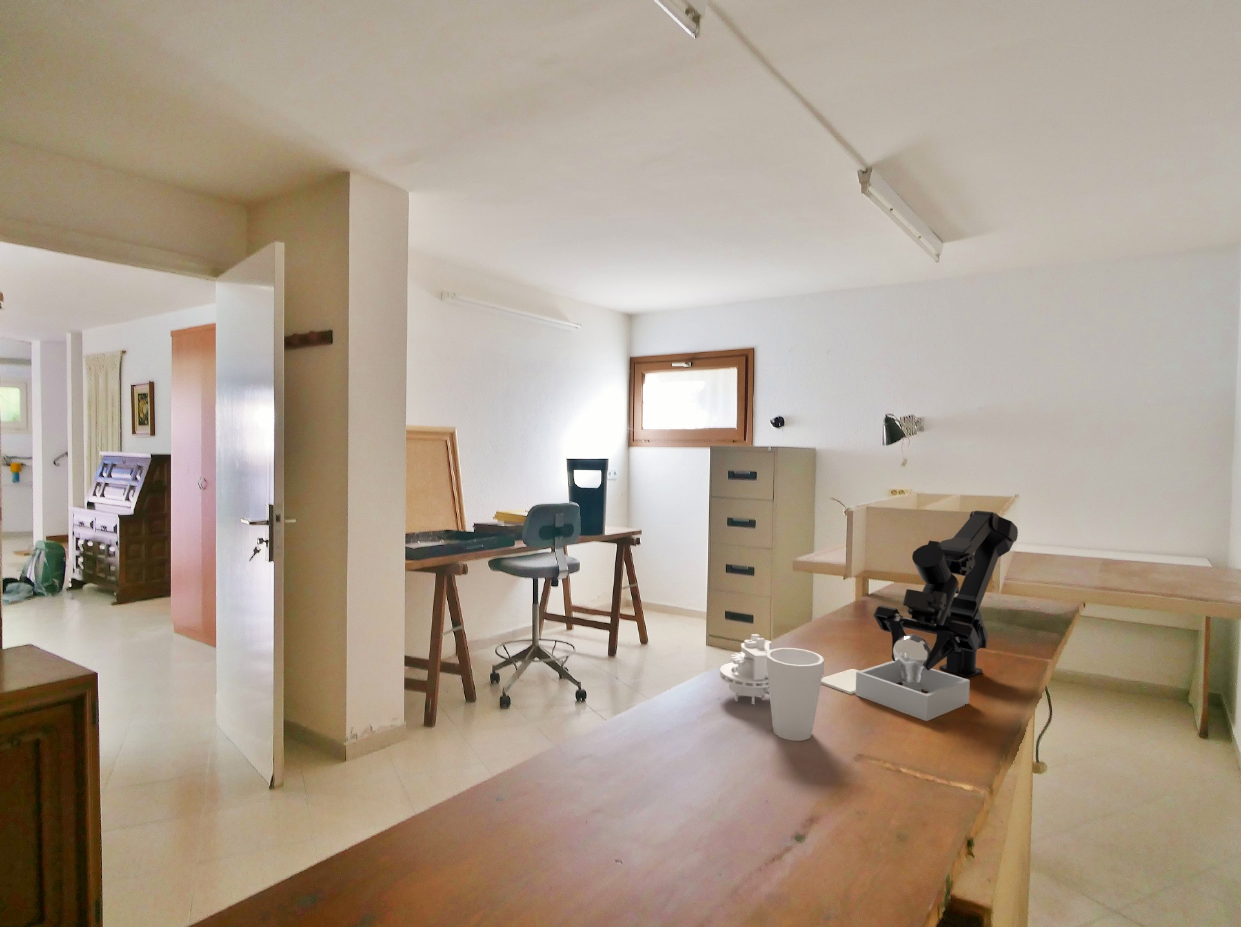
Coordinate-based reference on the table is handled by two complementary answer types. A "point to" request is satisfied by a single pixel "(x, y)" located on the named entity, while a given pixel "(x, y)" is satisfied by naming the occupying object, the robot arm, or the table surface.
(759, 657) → the mechanical part
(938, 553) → the robot arm
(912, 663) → the light bulb
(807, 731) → the foam cup
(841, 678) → the cream board
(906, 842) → the table surface
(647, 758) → the table surface
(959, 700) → the grey box
